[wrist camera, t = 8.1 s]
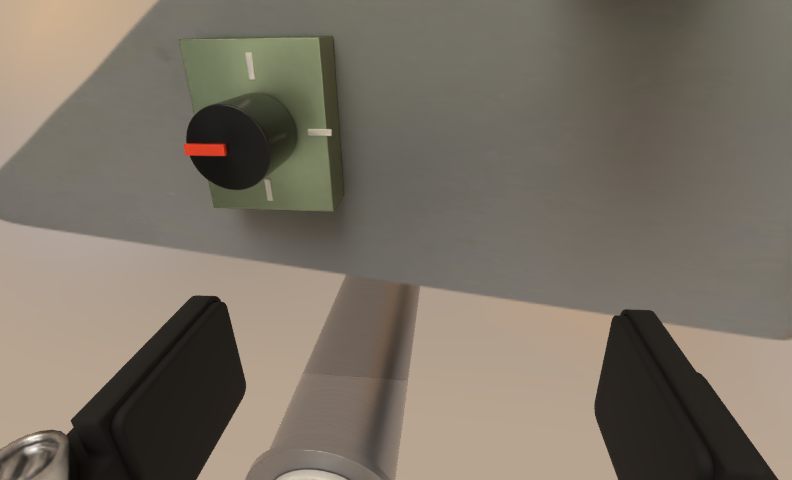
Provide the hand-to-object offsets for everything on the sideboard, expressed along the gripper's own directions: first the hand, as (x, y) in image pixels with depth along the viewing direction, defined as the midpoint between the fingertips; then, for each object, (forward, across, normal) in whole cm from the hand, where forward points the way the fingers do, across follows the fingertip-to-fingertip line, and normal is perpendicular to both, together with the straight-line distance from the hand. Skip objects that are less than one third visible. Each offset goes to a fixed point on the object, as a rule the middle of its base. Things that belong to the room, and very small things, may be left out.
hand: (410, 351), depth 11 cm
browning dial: (+16, +10, -2) cm, 20 cm away
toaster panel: (+20, +10, -2) cm, 22 cm away
